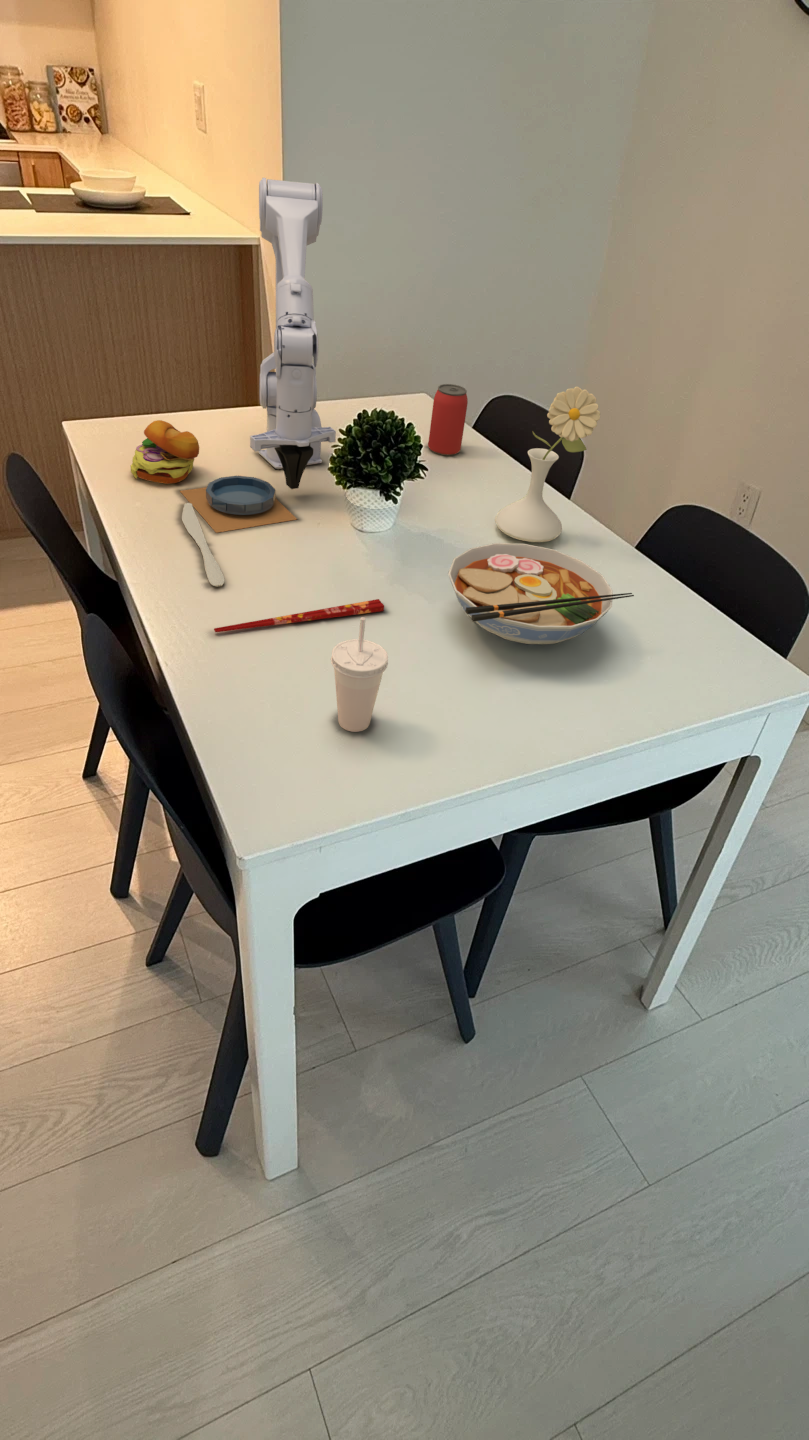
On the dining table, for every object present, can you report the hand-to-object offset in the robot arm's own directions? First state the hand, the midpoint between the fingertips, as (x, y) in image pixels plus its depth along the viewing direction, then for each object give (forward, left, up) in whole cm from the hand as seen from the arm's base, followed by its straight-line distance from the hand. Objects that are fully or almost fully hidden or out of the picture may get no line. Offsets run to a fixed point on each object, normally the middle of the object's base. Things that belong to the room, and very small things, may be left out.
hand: (292, 486), depth 147 cm
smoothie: (+20, +58, -2) cm, 61 cm away
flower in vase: (-32, +26, -2) cm, 41 cm away
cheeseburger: (+17, -15, -2) cm, 23 cm away
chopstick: (+16, +36, -2) cm, 39 cm away
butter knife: (+21, +11, -2) cm, 23 cm away
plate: (+9, 0, -2) cm, 9 cm away
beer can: (-38, -10, -2) cm, 39 cm away
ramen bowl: (-12, +49, -2) cm, 51 cm away
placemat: (+10, 0, -2) cm, 10 cm away
